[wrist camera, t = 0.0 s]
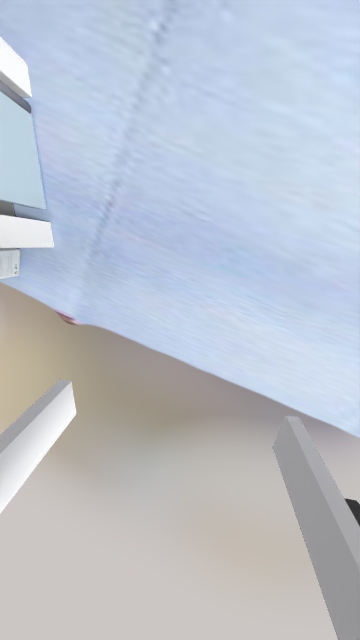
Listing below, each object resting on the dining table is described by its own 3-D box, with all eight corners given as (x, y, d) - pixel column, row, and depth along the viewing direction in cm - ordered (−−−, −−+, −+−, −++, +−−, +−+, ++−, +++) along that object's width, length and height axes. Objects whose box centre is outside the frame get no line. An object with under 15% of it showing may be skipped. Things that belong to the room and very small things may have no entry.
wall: (14, 63, 28) (-110, -55, 17) (26, 64, 28) (-90, -55, 17) (44, 246, 38) (-23, 246, 26) (54, 247, 37) (-10, 248, 26)
